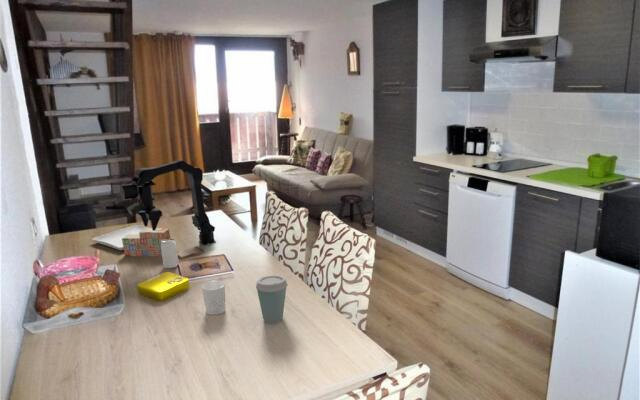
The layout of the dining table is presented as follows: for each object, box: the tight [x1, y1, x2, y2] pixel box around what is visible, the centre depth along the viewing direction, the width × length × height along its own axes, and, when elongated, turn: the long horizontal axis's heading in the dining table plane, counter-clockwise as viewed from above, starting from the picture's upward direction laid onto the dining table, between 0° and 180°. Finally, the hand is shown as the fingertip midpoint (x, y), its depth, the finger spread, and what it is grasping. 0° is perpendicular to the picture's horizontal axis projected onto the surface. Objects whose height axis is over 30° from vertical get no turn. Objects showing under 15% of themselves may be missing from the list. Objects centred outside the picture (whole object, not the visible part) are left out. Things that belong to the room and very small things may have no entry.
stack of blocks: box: [122, 227, 171, 257], centre depth 220 cm, size 21×6×12 cm, turn 84°
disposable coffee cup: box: [255, 274, 288, 325], centre depth 155 cm, size 11×11×15 cm
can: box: [161, 238, 179, 269], centre depth 204 cm, size 6×6×12 cm
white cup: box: [201, 280, 226, 316], centre depth 163 cm, size 8×8×10 cm
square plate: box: [91, 224, 151, 251], centre depth 242 cm, size 27×27×4 cm
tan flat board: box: [177, 245, 206, 260], centre depth 220 cm, size 12×8×1 cm, turn 132°
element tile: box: [137, 271, 191, 303], centre depth 181 cm, size 15×15×5 cm
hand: (150, 228), depth 213 cm, fingers open, 9 cm apart
